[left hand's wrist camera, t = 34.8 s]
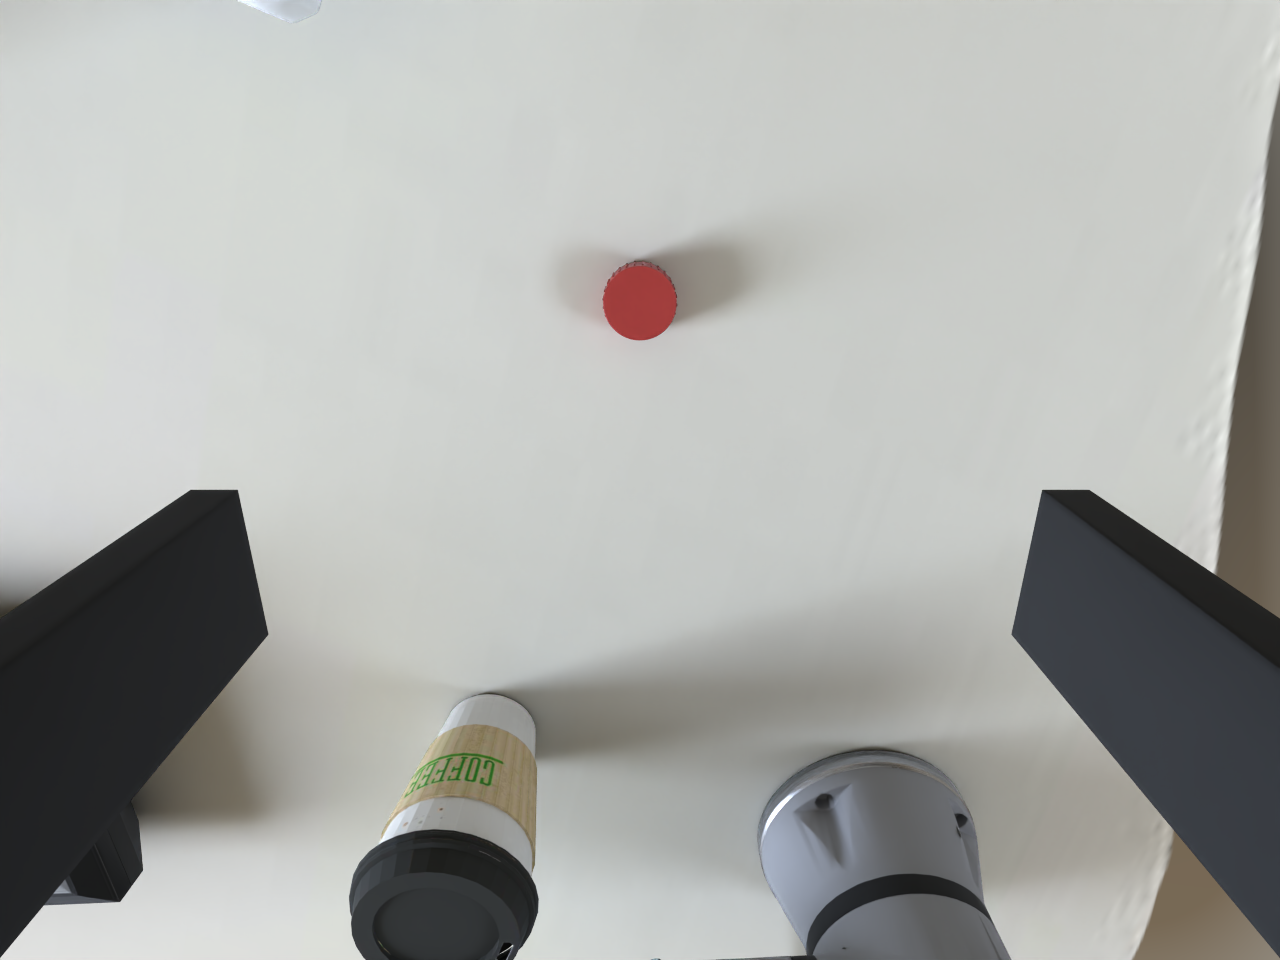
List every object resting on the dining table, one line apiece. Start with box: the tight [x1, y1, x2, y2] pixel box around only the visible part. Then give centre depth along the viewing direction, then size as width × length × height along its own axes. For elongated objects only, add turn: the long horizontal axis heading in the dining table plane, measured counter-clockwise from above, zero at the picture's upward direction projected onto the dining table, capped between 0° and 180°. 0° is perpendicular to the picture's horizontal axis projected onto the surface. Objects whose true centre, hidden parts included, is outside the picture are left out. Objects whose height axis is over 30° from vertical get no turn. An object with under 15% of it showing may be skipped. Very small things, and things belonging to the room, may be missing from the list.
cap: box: [603, 261, 677, 340], centre depth 40 cm, size 4×4×2 cm
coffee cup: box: [349, 694, 539, 960], centre depth 45 cm, size 10×10×15 cm
